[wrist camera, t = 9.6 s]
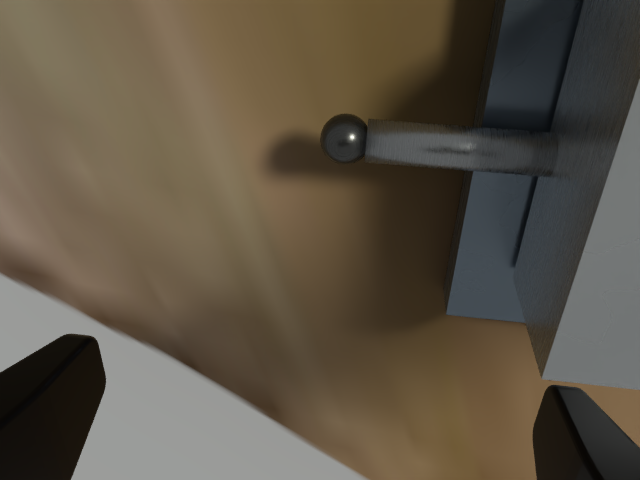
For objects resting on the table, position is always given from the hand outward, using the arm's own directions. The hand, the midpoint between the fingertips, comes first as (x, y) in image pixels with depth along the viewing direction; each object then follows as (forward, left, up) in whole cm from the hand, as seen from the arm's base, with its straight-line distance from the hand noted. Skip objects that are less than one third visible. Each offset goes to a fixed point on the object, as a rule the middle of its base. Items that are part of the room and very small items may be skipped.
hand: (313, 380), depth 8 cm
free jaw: (-3, 0, -10) cm, 10 cm away
